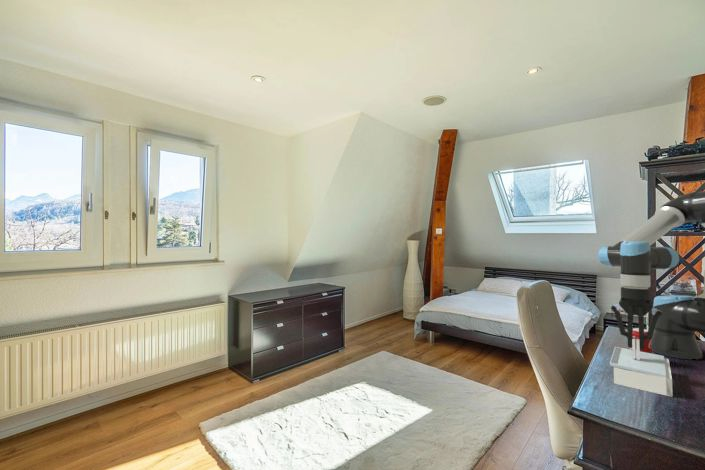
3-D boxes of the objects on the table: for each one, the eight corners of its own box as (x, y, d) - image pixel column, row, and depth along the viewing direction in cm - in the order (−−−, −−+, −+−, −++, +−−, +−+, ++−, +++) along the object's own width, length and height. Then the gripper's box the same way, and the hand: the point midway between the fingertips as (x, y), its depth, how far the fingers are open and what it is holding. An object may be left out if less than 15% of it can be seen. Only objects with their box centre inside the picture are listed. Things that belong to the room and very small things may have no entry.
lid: (663, 358, 110) (663, 355, 110) (666, 378, 94) (666, 375, 94) (614, 348, 119) (614, 346, 119) (609, 365, 103) (609, 362, 103)
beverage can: (656, 365, 116) (655, 332, 116) (636, 364, 117) (635, 331, 118) (644, 359, 122) (644, 327, 123) (625, 358, 124) (625, 327, 124)
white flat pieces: (669, 373, 109) (668, 358, 109) (672, 396, 93) (672, 379, 93) (618, 363, 118) (618, 350, 118) (613, 383, 102) (613, 367, 102)
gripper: (662, 288, 105) (663, 360, 105) (610, 284, 114) (611, 350, 114) (663, 290, 100) (664, 367, 99) (608, 286, 109) (609, 356, 108)
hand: (636, 358), depth 106 cm, fingers closed
